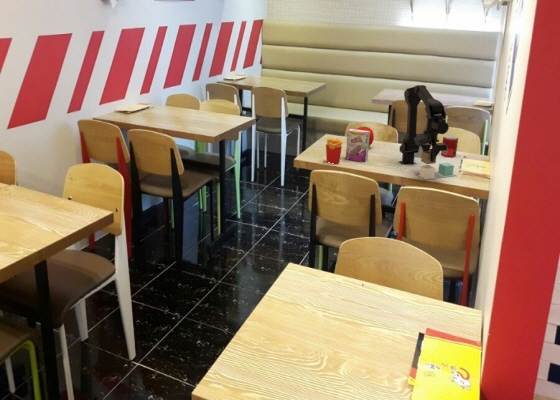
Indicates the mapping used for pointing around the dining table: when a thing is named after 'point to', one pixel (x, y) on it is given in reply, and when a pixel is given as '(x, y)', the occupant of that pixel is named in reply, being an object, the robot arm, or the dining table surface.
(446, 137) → the canned food
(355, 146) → the candy bar box
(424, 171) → the block
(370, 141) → the tomato
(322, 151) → the dining table surface
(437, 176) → the slate board
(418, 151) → the lumpy-topped squat cylinder
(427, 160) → the walnut block
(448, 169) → the teal block
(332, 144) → the french fries
